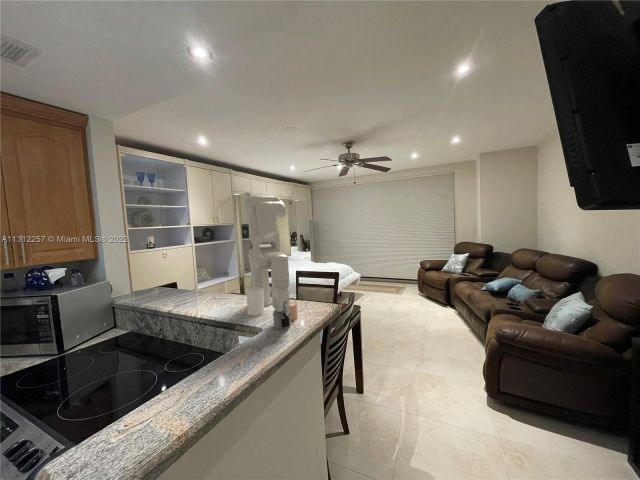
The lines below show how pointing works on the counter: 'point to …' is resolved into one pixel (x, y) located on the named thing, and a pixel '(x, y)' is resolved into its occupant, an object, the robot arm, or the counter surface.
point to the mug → (255, 301)
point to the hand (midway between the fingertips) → (282, 323)
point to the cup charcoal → (277, 320)
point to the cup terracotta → (293, 310)
